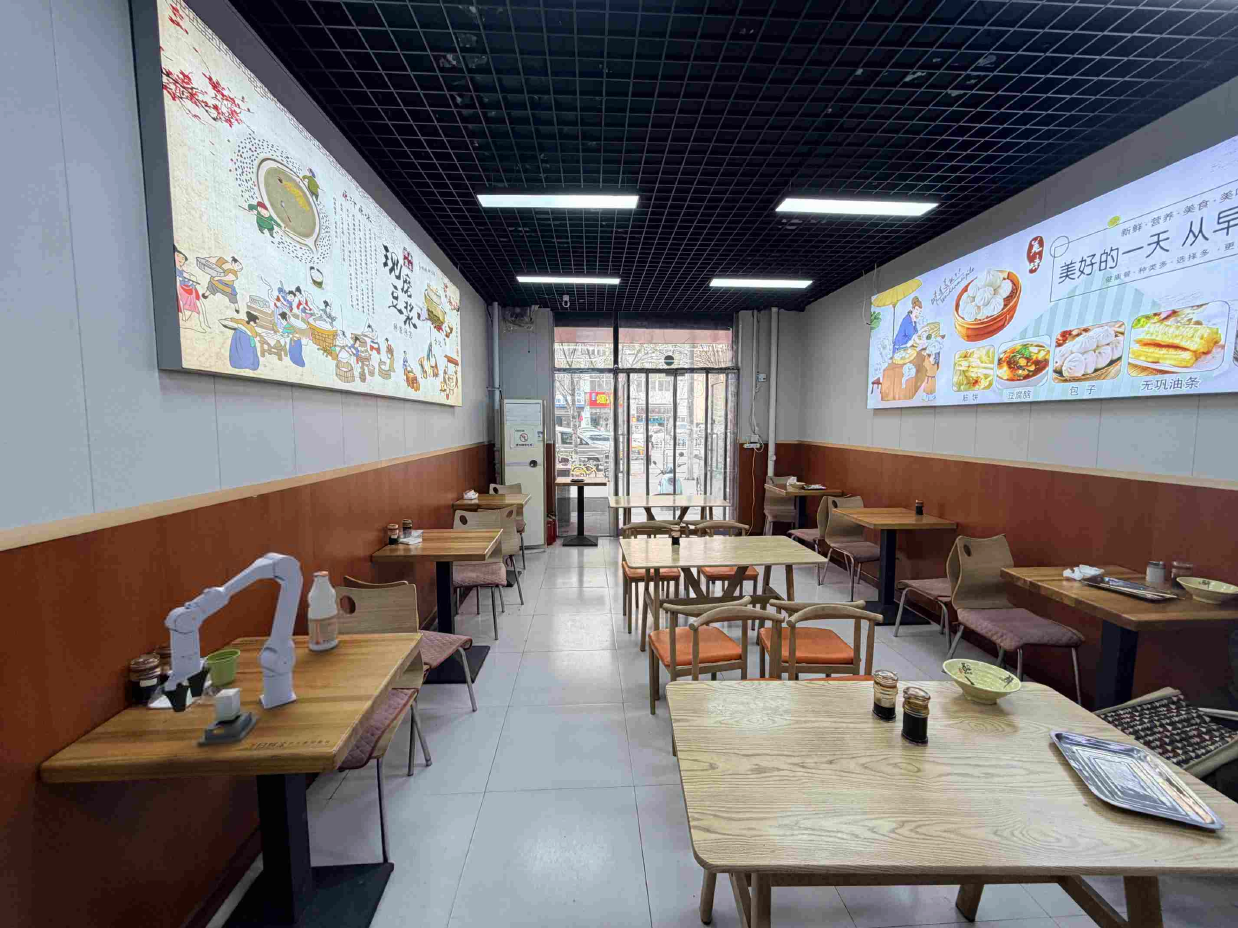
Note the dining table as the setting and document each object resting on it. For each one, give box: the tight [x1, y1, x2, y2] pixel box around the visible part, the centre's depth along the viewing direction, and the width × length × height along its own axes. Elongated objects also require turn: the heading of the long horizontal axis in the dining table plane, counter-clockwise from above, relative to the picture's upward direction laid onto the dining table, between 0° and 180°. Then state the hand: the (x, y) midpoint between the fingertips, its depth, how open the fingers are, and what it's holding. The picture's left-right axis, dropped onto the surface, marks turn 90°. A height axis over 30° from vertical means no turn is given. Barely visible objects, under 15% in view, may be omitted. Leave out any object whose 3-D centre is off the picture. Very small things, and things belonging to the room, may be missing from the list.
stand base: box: [196, 710, 260, 747], centre depth 138 cm, size 10×10×4 cm
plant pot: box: [204, 649, 241, 687], centre depth 166 cm, size 9×9×9 cm
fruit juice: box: [307, 571, 339, 651], centre depth 193 cm, size 9×9×28 cm
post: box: [214, 687, 242, 721], centre depth 137 cm, size 4×4×6 cm
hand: (188, 703), depth 135 cm, fingers open, 7 cm apart
